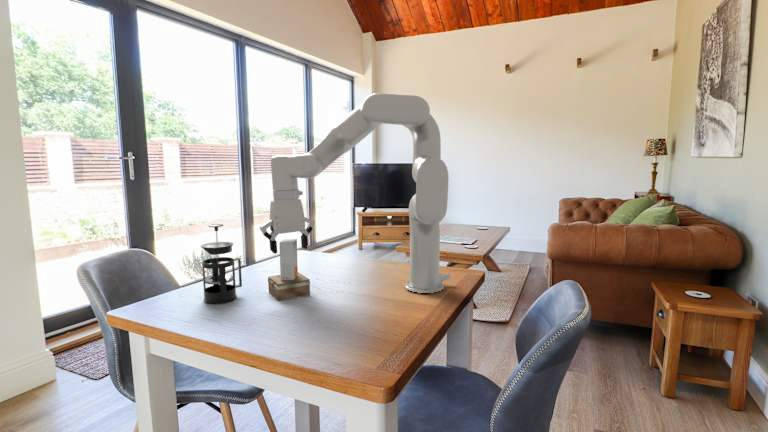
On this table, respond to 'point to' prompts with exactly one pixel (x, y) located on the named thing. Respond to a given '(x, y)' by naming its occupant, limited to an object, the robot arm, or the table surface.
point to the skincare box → (288, 259)
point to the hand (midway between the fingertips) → (289, 250)
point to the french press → (220, 272)
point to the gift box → (289, 287)
